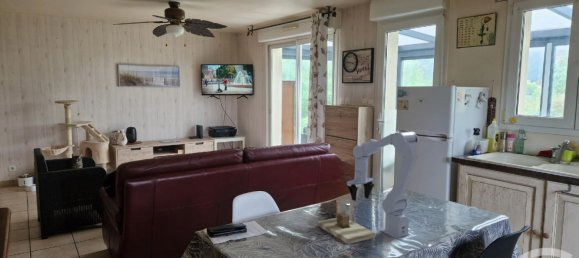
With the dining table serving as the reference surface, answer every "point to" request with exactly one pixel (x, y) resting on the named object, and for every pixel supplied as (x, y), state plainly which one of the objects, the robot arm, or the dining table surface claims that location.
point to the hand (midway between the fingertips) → (360, 199)
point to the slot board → (347, 231)
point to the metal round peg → (345, 208)
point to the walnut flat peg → (342, 220)
